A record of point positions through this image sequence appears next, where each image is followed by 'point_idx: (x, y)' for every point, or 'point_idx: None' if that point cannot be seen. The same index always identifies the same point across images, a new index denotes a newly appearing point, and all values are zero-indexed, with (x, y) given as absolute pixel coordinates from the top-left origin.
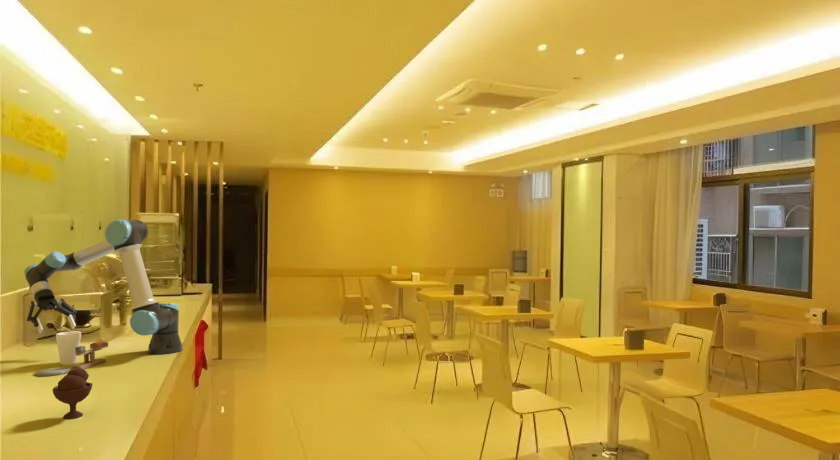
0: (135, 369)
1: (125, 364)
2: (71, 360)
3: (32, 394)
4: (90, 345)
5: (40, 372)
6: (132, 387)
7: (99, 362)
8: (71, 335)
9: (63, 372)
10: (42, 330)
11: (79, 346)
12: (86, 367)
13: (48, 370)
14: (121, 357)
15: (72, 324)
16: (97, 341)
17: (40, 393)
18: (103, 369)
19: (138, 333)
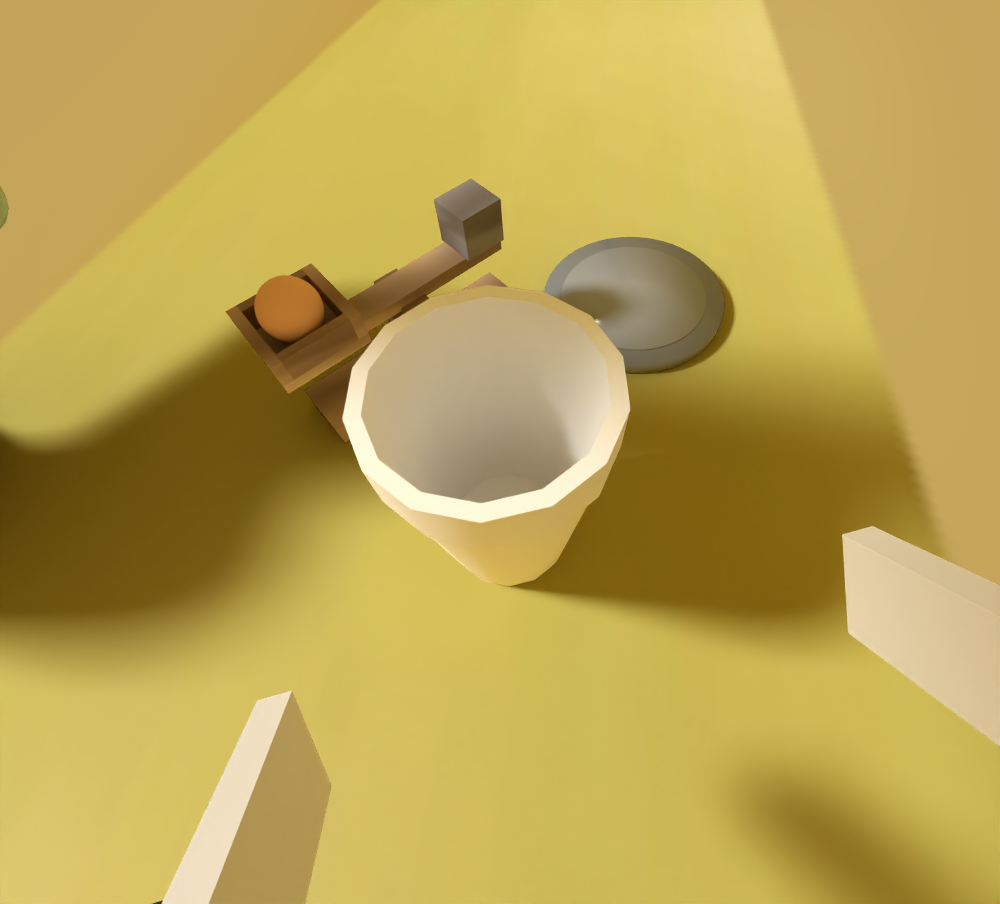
0: (292, 192)
1: None
2: (498, 463)
3: (703, 64)
4: (361, 320)
5: (695, 285)
6: (417, 29)
7: None
8: (481, 293)
9: (581, 250)
10: (852, 555)
11: (469, 209)
12: None
13: (653, 307)
14: (173, 486)
15: (288, 789)
16: (305, 281)
17: (678, 64)
18: (396, 252)
19: (7, 205)
